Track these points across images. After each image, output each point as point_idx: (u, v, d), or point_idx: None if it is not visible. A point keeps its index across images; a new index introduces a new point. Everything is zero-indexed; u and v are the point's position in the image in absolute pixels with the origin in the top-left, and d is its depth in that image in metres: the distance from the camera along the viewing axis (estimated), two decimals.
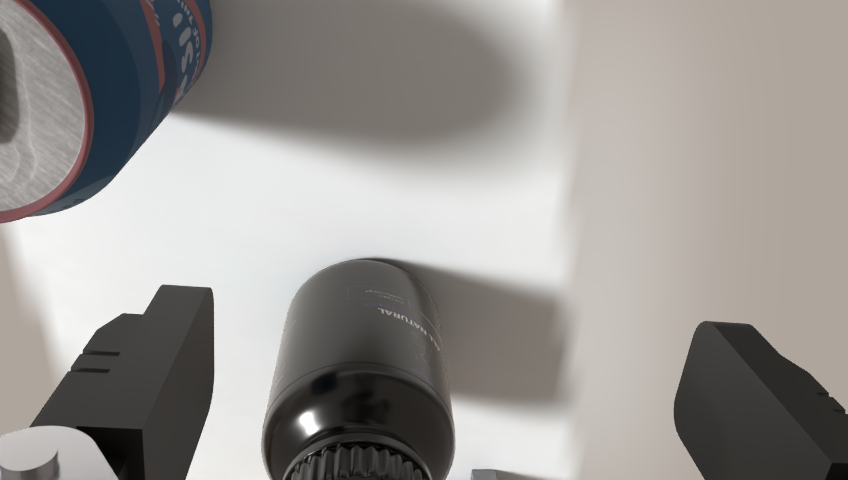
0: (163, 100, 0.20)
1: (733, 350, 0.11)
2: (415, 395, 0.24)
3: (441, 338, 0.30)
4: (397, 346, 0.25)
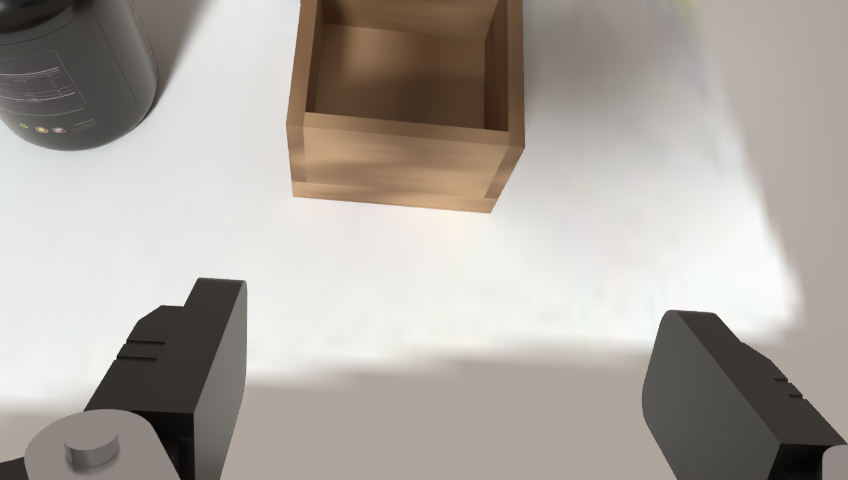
0: None
1: (695, 337, 0.11)
2: None
3: None
4: None
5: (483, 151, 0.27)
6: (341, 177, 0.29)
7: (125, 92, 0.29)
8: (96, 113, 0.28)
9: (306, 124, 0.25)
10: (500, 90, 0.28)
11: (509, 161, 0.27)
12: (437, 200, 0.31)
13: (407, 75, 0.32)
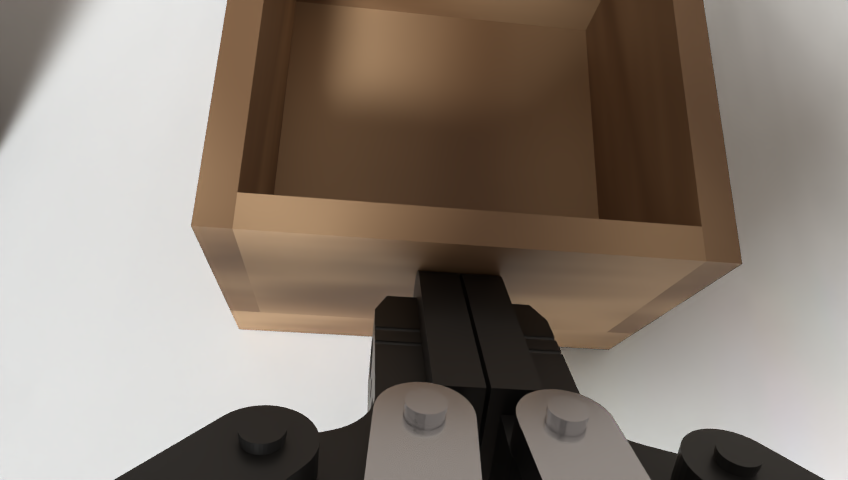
0: None
1: (467, 297, 0.11)
2: None
3: None
4: None
5: (643, 270, 0.12)
6: (329, 306, 0.14)
7: None
8: None
9: (240, 222, 0.11)
10: (654, 127, 0.14)
11: (691, 284, 0.13)
12: None
13: (450, 95, 0.17)
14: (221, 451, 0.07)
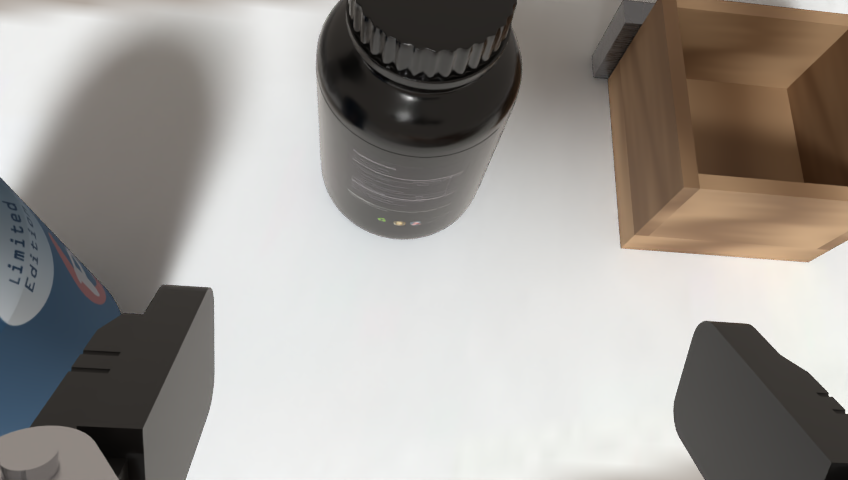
0: None
1: (733, 350, 0.11)
2: None
3: None
4: None
5: None
6: (689, 232, 0.29)
7: (478, 183, 0.28)
8: (455, 206, 0.28)
9: (701, 186, 0.26)
10: None
11: None
12: (766, 251, 0.31)
13: (721, 125, 0.32)
14: None
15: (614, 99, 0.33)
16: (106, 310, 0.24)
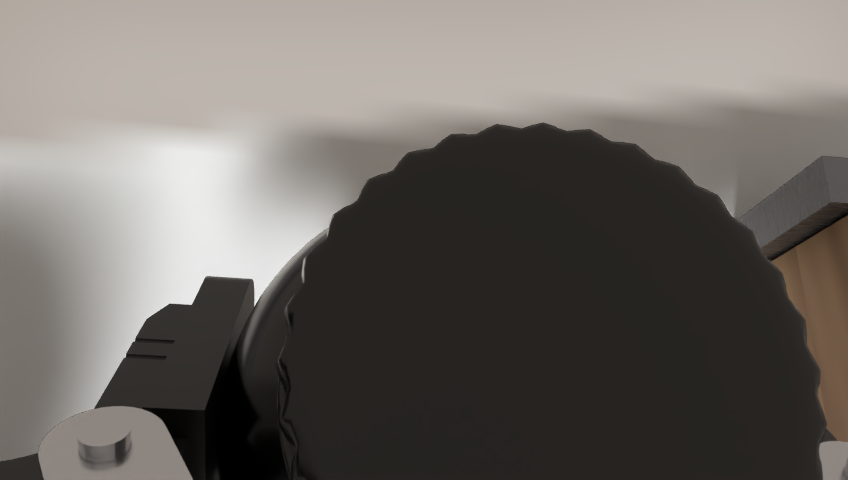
0: None
1: None
2: (286, 268, 0.09)
3: None
4: None
5: None
6: None
7: None
8: None
9: None
10: None
11: None
12: None
13: None
14: None
15: None
16: None
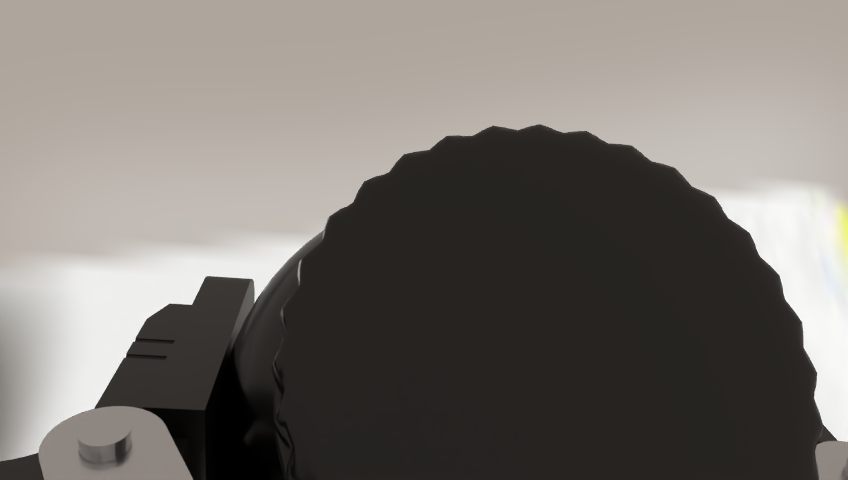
0: None
1: None
2: (283, 270, 0.09)
3: None
4: None
5: None
6: None
7: None
8: None
9: None
10: None
11: None
12: None
13: None
14: None
15: None
16: None
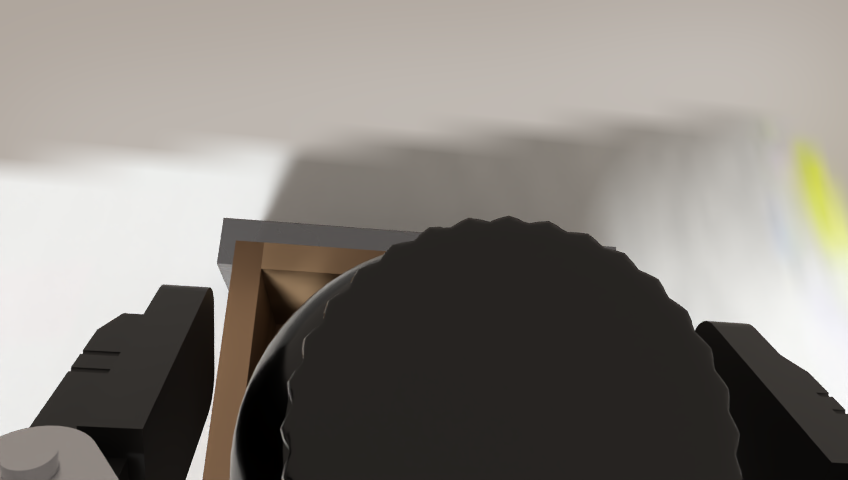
0: None
1: (733, 350, 0.11)
2: (290, 322, 0.11)
3: None
4: None
5: None
6: None
7: None
8: None
9: None
10: None
11: None
12: None
13: None
14: None
15: None
16: None
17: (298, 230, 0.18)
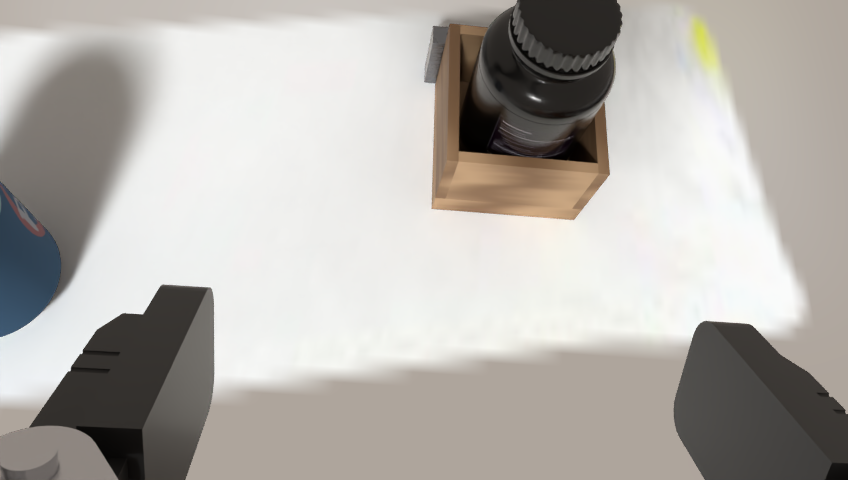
0: None
1: (733, 350, 0.11)
2: (496, 19, 0.35)
3: None
4: None
5: (579, 177, 0.38)
6: (472, 195, 0.40)
7: None
8: None
9: (460, 159, 0.37)
10: (587, 132, 0.40)
11: (596, 183, 0.39)
12: (537, 210, 0.42)
13: None
14: None
15: (436, 99, 0.44)
16: (44, 241, 0.35)
17: None
